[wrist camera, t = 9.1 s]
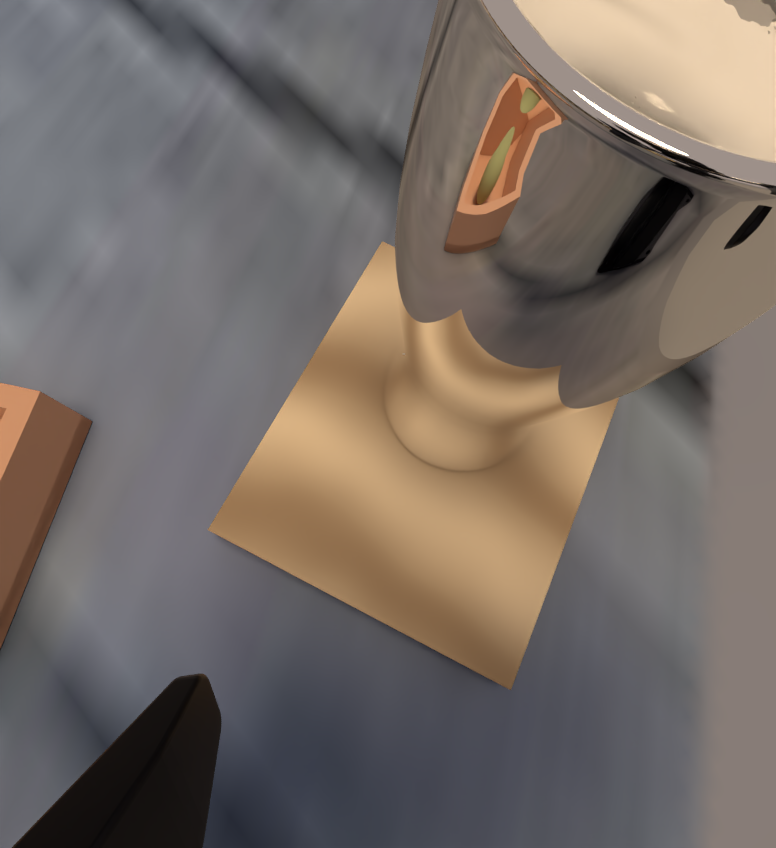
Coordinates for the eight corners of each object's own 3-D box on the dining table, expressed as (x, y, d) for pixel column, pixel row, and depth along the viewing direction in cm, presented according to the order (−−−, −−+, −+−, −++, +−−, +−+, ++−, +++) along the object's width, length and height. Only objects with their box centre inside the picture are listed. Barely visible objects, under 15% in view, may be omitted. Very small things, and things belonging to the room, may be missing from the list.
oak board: (498, 680, 18) (510, 689, 17) (218, 532, 19) (207, 529, 17) (614, 374, 22) (632, 360, 21) (380, 261, 23) (382, 241, 22)
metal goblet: (524, 315, 21) (902, -228, 7) (558, 474, 19) (1192, 194, 5) (363, 326, 20) (399, -258, 6) (382, 493, 18) (504, 231, 4)
